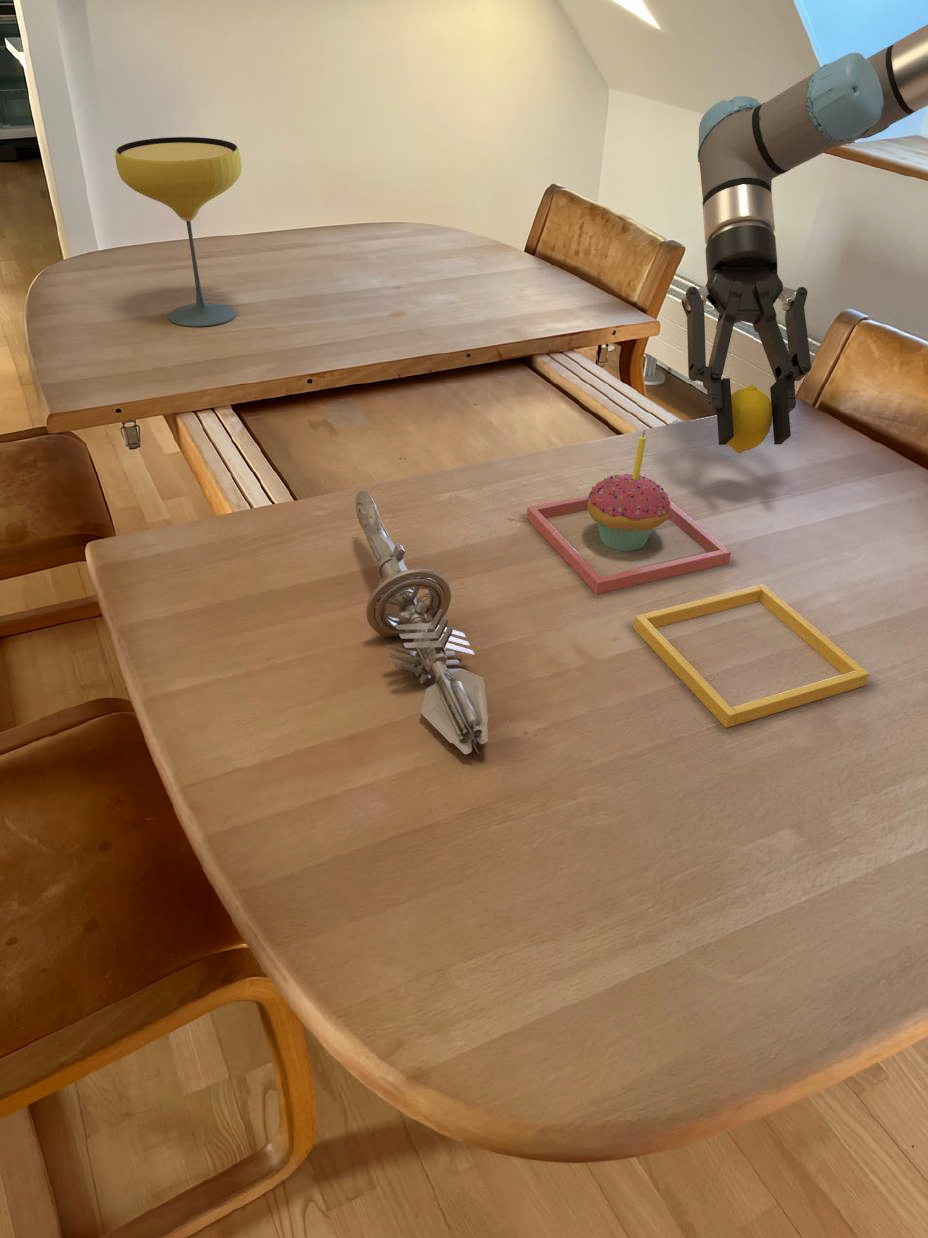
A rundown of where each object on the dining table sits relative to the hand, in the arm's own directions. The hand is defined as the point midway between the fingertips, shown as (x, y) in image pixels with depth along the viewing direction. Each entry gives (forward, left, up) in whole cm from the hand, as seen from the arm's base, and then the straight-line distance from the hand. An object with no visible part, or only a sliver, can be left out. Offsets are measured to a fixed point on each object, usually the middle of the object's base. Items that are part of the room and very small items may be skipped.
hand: (754, 439), depth 101 cm
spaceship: (+43, +8, -9) cm, 45 cm away
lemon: (-1, -3, -4) cm, 5 cm away
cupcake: (+16, +1, -9) cm, 18 cm away
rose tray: (+16, +1, -9) cm, 18 cm away
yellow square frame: (+16, +22, -9) cm, 29 cm away
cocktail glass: (+44, -85, -9) cm, 96 cm away
